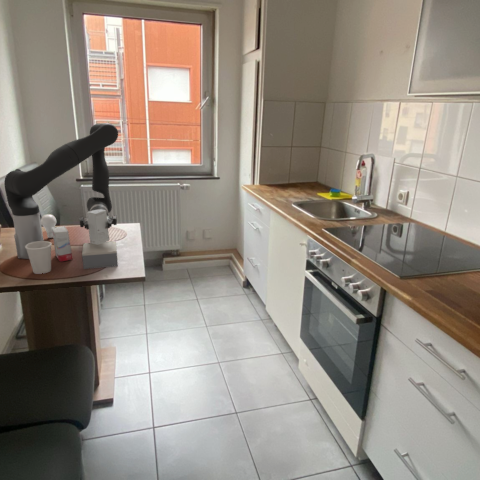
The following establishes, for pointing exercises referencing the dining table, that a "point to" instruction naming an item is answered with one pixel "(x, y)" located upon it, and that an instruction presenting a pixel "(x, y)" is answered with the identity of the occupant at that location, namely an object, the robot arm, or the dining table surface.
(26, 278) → the dining table surface
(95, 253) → the plinth
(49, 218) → the lightbulb
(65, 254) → the ink box
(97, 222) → the skincare box
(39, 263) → the dixie cup
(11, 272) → the dining table surface
